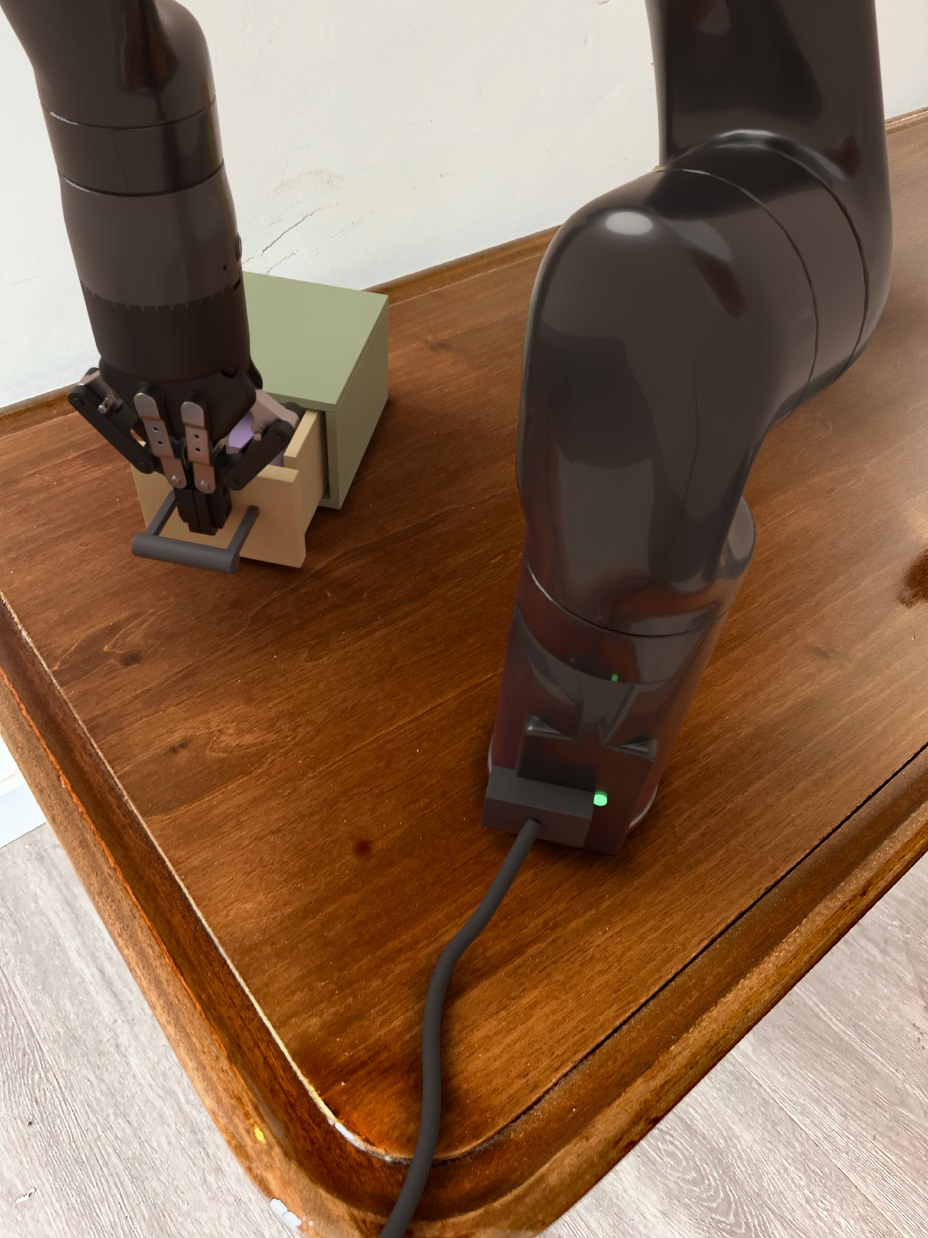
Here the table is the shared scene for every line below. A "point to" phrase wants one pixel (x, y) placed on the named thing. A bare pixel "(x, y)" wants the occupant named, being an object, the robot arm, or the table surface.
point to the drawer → (243, 510)
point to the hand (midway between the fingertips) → (208, 524)
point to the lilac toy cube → (244, 433)
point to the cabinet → (323, 361)
